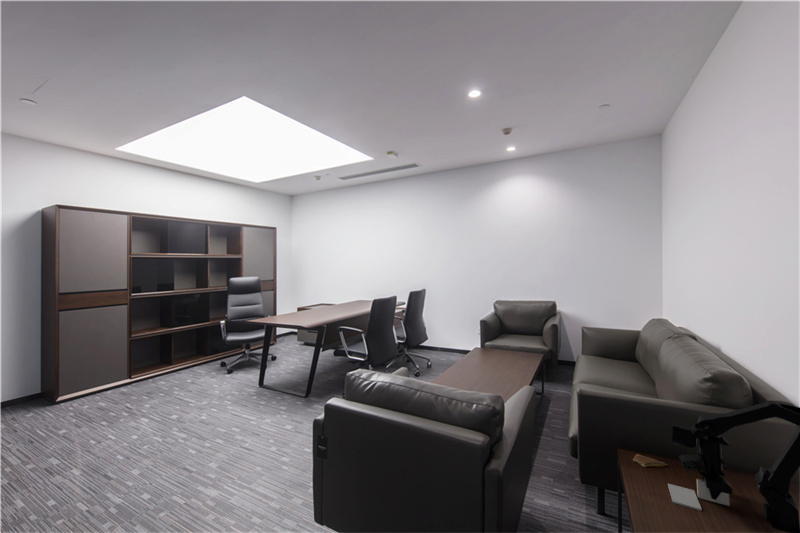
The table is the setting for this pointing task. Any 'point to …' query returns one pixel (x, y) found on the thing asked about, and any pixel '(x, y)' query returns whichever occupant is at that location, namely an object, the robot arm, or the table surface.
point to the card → (705, 494)
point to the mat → (684, 497)
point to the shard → (647, 461)
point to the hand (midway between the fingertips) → (712, 497)
